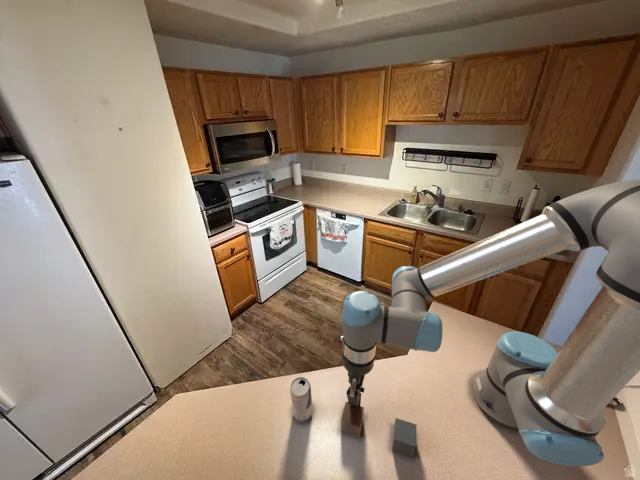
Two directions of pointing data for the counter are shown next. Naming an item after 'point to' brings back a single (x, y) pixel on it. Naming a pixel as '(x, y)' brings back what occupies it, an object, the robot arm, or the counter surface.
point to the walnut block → (352, 419)
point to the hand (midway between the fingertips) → (354, 407)
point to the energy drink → (301, 399)
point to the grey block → (404, 437)
